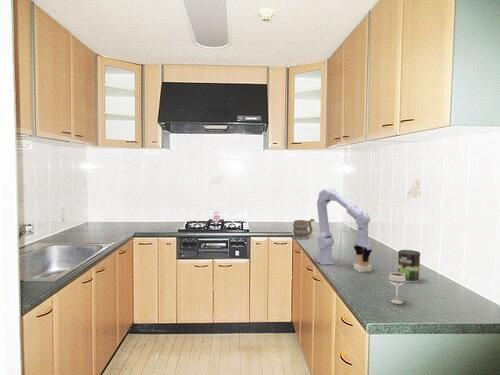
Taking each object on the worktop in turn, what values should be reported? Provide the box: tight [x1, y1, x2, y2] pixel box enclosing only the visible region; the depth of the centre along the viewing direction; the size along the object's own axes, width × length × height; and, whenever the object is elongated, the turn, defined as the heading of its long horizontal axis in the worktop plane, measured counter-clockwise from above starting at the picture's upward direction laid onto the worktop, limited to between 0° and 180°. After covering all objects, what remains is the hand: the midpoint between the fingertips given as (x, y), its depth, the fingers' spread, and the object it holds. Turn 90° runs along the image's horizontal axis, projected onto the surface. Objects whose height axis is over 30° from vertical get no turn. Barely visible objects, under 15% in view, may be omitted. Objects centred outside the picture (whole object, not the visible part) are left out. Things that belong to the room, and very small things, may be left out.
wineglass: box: [388, 270, 406, 305], centre depth 158 cm, size 7×7×12 cm
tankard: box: [291, 218, 316, 241], centre depth 304 cm, size 20×13×15 cm, turn 114°
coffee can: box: [397, 249, 421, 284], centre depth 189 cm, size 10×10×14 cm
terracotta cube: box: [355, 254, 370, 266], centre depth 208 cm, size 5×5×5 cm
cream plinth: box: [353, 262, 372, 273], centre depth 208 cm, size 7×7×3 cm
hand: (362, 260), depth 208 cm, fingers open, 6 cm apart
